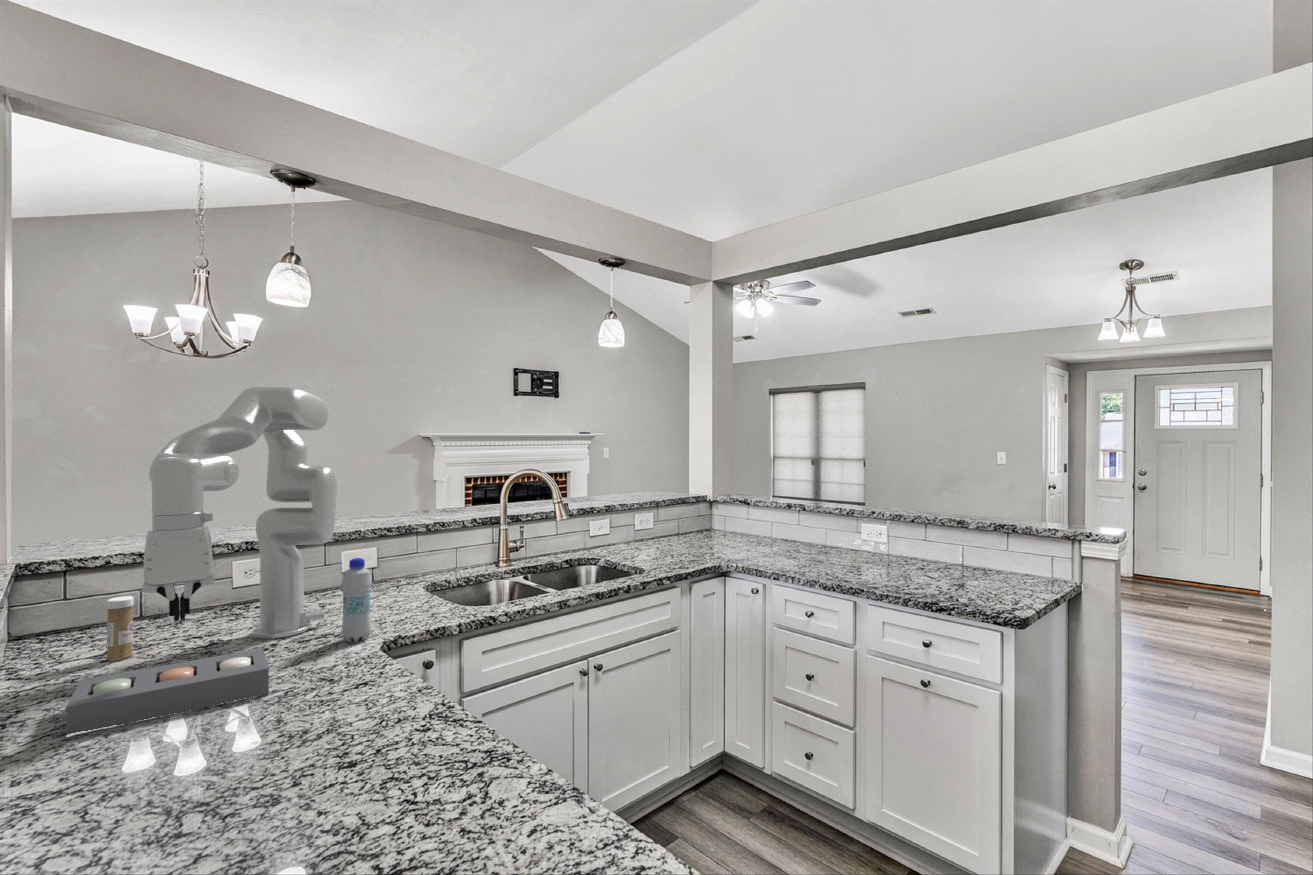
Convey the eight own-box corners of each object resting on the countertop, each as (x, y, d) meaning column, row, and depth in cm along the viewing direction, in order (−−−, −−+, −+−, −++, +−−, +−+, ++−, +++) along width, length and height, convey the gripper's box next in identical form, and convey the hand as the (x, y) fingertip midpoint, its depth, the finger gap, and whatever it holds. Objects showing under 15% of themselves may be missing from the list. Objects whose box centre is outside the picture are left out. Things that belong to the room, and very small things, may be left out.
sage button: (132, 695, 110) (132, 676, 110) (129, 704, 106) (129, 684, 106) (95, 702, 107) (95, 682, 107) (90, 712, 103) (90, 691, 103)
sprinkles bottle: (131, 658, 133) (131, 598, 133) (103, 663, 131) (104, 601, 131) (135, 652, 137) (135, 594, 137) (108, 656, 135) (108, 597, 135)
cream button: (249, 672, 121) (250, 655, 121) (251, 680, 117) (251, 662, 117) (219, 678, 118) (219, 660, 118) (219, 686, 114) (220, 668, 114)
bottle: (377, 636, 149) (378, 556, 149) (356, 645, 143) (356, 561, 143) (356, 633, 151) (357, 554, 151) (334, 641, 145) (335, 559, 145)
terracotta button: (193, 683, 115) (193, 665, 115) (193, 691, 111) (193, 673, 111) (160, 689, 112) (160, 671, 112) (158, 698, 108) (158, 679, 108)
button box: (262, 671, 126) (263, 648, 126) (268, 694, 115) (268, 668, 115) (79, 707, 109) (80, 679, 109) (65, 737, 98) (65, 707, 98)
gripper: (226, 516, 120) (227, 606, 120) (127, 523, 111) (129, 621, 111) (227, 521, 114) (229, 616, 114) (123, 529, 105) (125, 632, 105)
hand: (179, 618), depth 113 cm, fingers closed
